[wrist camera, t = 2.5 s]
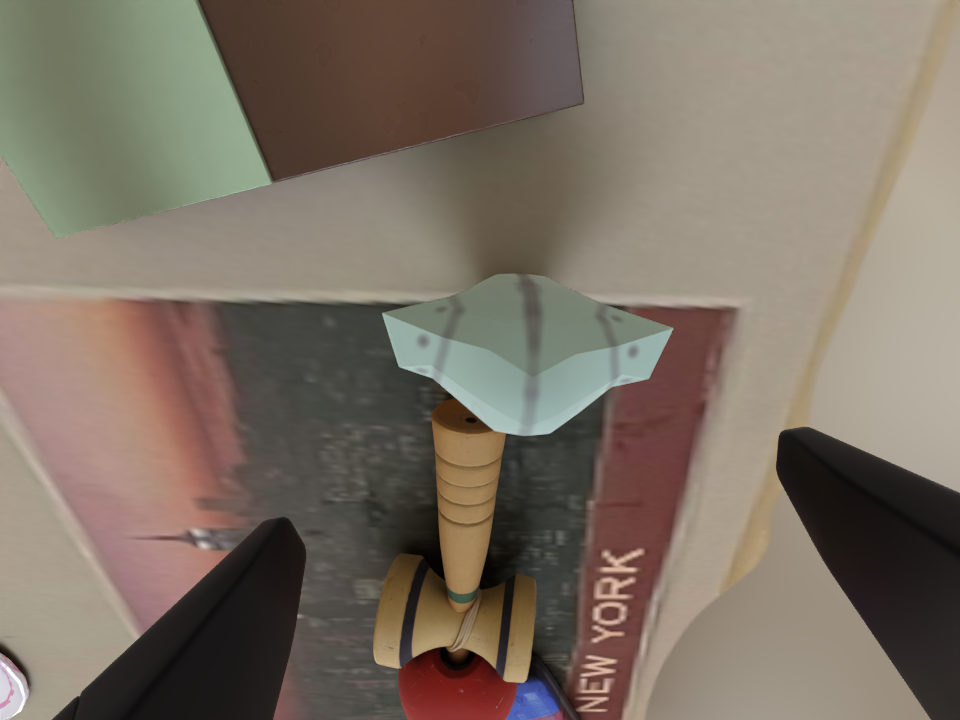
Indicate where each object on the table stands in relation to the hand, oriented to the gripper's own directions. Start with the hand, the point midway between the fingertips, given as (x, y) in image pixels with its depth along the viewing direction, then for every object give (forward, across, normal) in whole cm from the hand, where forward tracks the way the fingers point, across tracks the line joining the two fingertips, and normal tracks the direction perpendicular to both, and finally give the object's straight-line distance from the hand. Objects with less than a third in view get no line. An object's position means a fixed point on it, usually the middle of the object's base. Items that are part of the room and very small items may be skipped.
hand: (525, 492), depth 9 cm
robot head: (+10, 0, 0) cm, 10 cm away
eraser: (+10, +4, +28) cm, 30 cm away
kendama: (+10, +5, +12) cm, 17 cm away
